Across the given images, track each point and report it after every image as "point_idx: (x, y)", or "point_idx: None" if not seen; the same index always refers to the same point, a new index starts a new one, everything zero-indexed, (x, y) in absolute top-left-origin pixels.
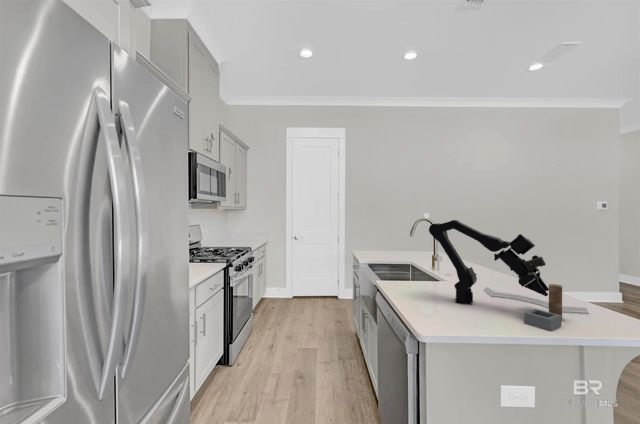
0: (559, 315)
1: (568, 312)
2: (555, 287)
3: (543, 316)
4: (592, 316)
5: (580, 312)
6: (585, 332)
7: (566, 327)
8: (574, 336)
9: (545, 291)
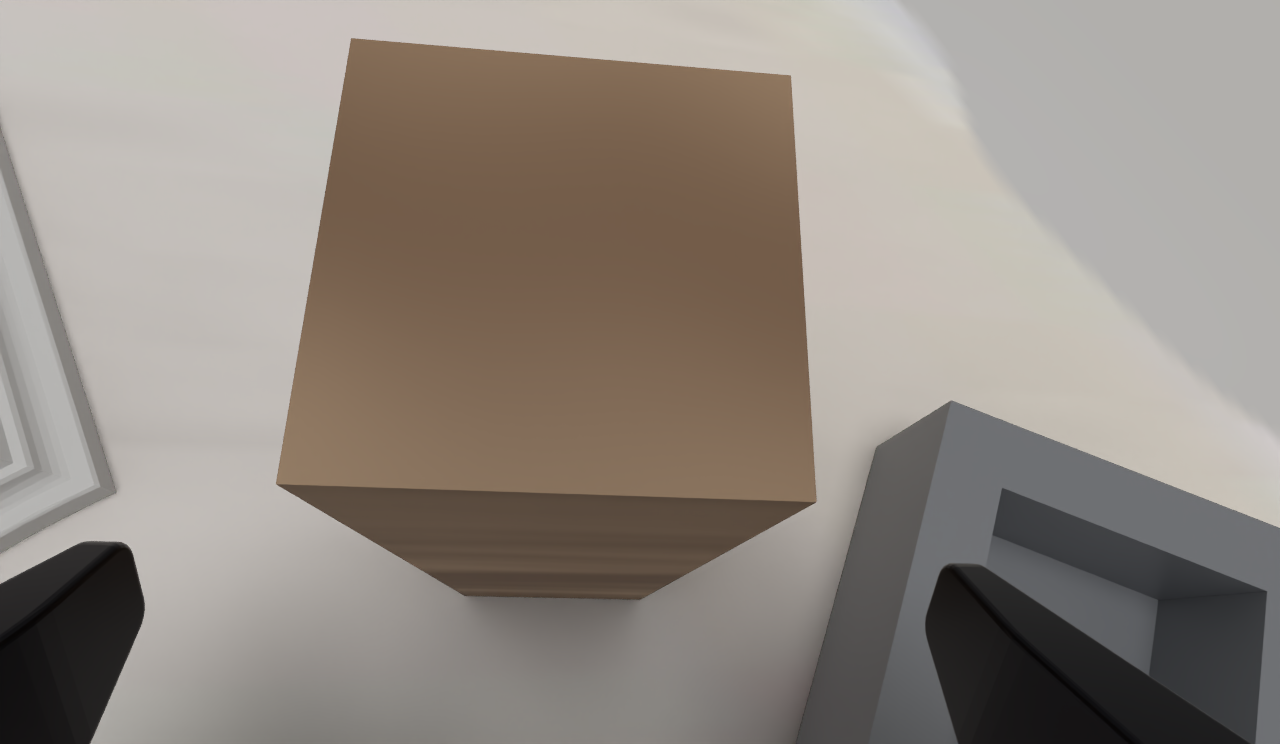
0: (987, 428)
1: (56, 325)
2: (784, 283)
3: (1262, 660)
4: (94, 76)
5: (4, 175)
6: (909, 229)
7: (873, 395)
8: (1151, 340)
9: (1079, 634)
